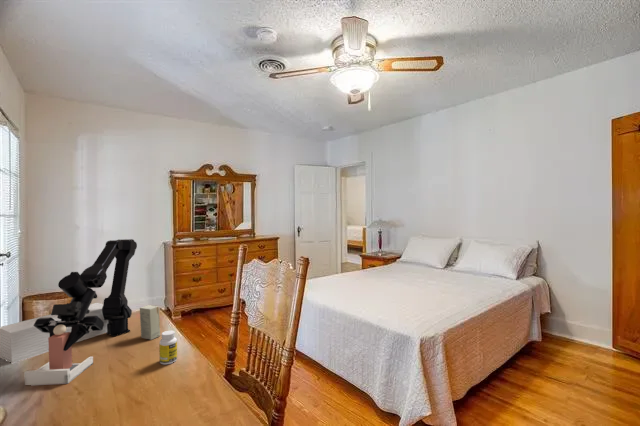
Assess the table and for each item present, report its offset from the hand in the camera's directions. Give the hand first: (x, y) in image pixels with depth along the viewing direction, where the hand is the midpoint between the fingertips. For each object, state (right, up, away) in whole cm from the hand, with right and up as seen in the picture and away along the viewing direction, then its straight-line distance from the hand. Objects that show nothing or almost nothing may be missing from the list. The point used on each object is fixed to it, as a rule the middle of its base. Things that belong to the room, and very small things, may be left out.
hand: (57, 350), depth 99 cm
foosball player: (0, -7, +2) cm, 7 cm away
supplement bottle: (+30, -8, +9) cm, 33 cm away
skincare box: (+13, -7, +30) cm, 33 cm away
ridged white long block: (-19, -8, +25) cm, 33 cm away
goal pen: (0, -8, +2) cm, 8 cm away
